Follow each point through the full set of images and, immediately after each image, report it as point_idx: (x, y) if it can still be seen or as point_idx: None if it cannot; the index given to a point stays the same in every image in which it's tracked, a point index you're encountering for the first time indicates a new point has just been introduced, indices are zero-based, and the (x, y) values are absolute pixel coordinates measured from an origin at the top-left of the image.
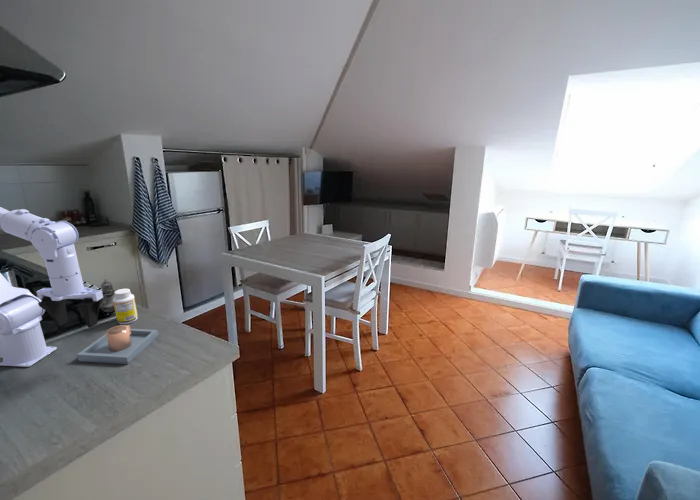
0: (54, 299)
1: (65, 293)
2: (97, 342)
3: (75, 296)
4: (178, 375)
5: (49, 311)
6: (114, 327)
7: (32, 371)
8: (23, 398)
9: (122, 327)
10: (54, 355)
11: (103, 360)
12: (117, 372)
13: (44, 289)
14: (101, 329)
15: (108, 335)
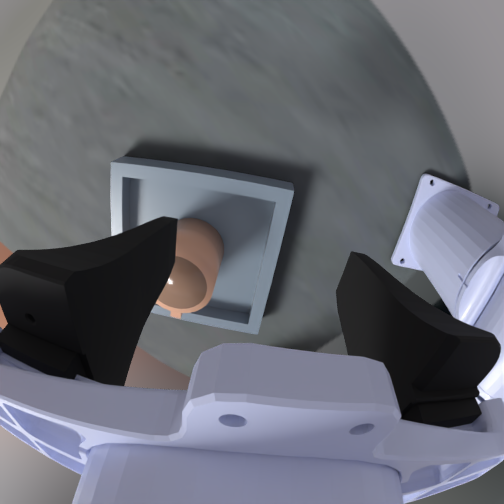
0: (311, 375)
1: (142, 484)
2: (263, 259)
3: (48, 395)
4: (6, 120)
5: (418, 306)
6: (197, 302)
7: (404, 149)
8: (345, 17)
9: (167, 297)
10: (384, 227)
11: (198, 167)
12: (131, 115)
13: (474, 470)
14: (311, 340)
15: (186, 251)
